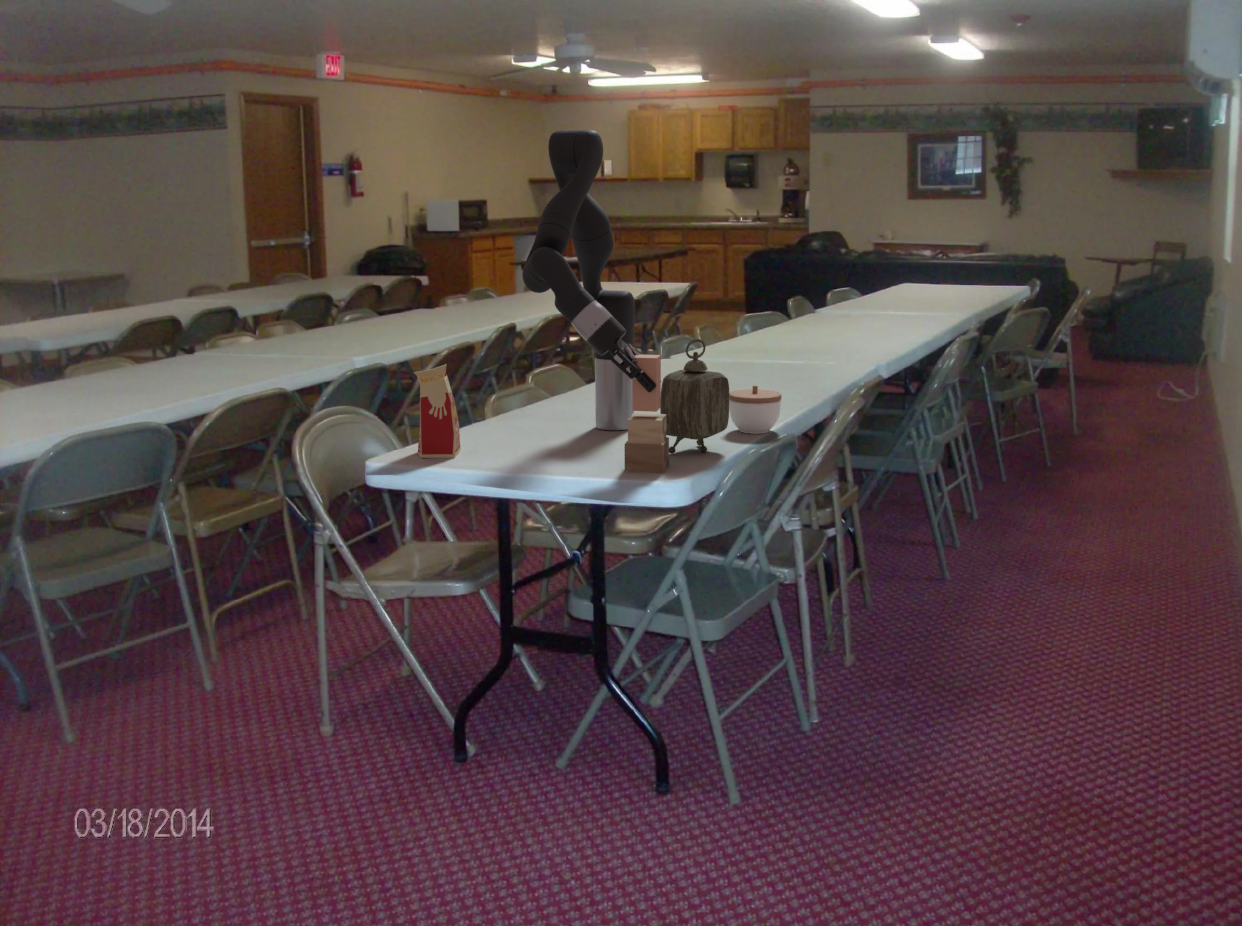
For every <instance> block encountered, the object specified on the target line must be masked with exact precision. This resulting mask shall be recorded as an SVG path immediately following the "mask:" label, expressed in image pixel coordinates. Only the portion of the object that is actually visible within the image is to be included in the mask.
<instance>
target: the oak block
mask: <svg viewBox="0 0 1242 926" xmlns="http://www.w3.org/2000/svg"><path fill="white" fill-rule="evenodd" d="M666 437H667V435H666V414H661V413H636V412H635V413H633V414H632V416H631V417H630V418H629V419H628V429H627V441H628V444H661V445H662V443H663V442H664V440H665V439H666Z"/></svg>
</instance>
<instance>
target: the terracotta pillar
mask: <svg viewBox="0 0 1242 926" xmlns="http://www.w3.org/2000/svg"><path fill="white" fill-rule="evenodd" d="M641 354H642V353H641ZM641 354H639V355H635V358H636V360H637V361H638V365H639V366H640V367H641V368H642V369H643V370H644V373H646V374H647V375H648V376H649V377H650V378H651V379H652V380H653V381H654V382H655V383H656V385H657V386H656V387H655V388H654V389H653V390H652V391H651V392H648V391H647V390H646V389H645V388H644V387H643V386H642V385H641V384H640V383H639V382H638V381H637V380H638V379H637V380H634V379H632V411H634V412H653V413H656V412H658V411H660V408H661V387H662V380H661V378H662V377H661V376H662V375H661V374H662V370H661V369H662V367H661V364H662V361H661V359H662V355H661V354H642V355H641ZM632 362H633V359H632ZM633 370H634V368H632V371H633ZM644 373H643V374H644Z"/></svg>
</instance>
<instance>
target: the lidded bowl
mask: <svg viewBox="0 0 1242 926" xmlns="http://www.w3.org/2000/svg"><path fill="white" fill-rule="evenodd" d="M758 388H759V387H758V385H757V384H756V385H755V384H754V385H752V389H738V390H733V391H729V417H730V418H731V421H732V424H733V425H735V427H736V428H737V429H738V430H739V433H742V432H743V433H742V434H748V433H750V435H751V434H752V435H758V434H768V433H769V432H770V430H771V429H772V428H773V427H774V426H775V425H776V423H777V422H778V420H779V417H780V413H781V406H782V405H781V403H782V393H781V392H779V391H775V390H772V389H771V390H769V389H758Z"/></svg>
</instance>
